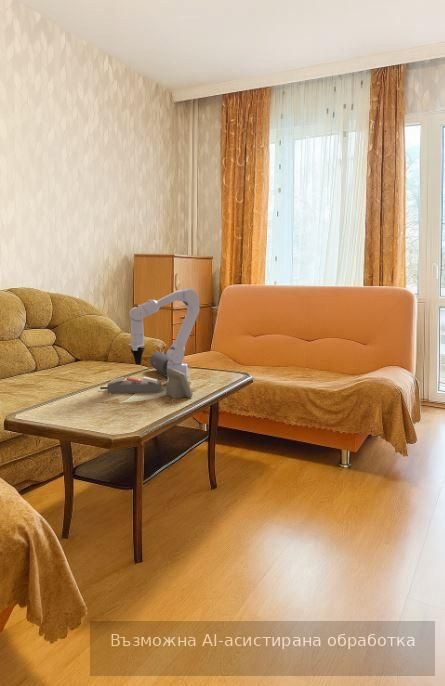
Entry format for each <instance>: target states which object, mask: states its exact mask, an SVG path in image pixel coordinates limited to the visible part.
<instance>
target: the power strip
mask: <svg viewBox="0 0 445 686" xmlns="http://www.w3.org/2000/svg"><path fill="white" fill-rule="evenodd" d="M157 380H158V379H157ZM99 388H100V390H107V393H108V394H115V393H116V394H124V393H125V394H128V393H129V394H130V393H131V394H134V393H137V394H139V393H140V394H141V393H144V394H145V393H146V394H151V393H153V394H154V393H160V392H161V390H162V380H158V381H157V383H154V382H149V381H145V380H143V379H142V380H141V383H138V382H133V381H128V380H122V381H118V382H115V383H110V382H109V383H108V384H107V385H106V386H100V387H99Z"/></svg>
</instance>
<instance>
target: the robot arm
mask: <svg viewBox="0 0 445 686" xmlns="http://www.w3.org/2000/svg"><path fill="white" fill-rule="evenodd" d="M199 299H200V296H199V295H198V292H197V291H196V290H195V289H193V288H186V287H185V288H182V289H178V290H176V291H173V292H171V293H169V294H167V295H165V296H164V297H161V298H160V299H158V300H155V299H148V300H147V302H144V303H142V304H138V305H137V307H136V306H135V307H131V308H130V310H129V313H128V317H129V318H130V343H128V347H131V348H130V352H131V353H132V356H133V359H134V362H135V365H141V364H142V359H143V354H144V351H145V349H146V348H145V347H144V346H145V336H144V334H145V333H144V332H145V331H144V330H145V329H144V318H146V317H148V316H151V315H153V314H155V313H157V312H159V310H160V308H161V307H163V306H165V305H166V306H167V305H168V304H171V303H174V302H175V301H177V302H182V303H183V304H184V305H185V307H186V309H187V311H186V314H185V316H184V318H183V321H182V324H181V326H180V328H179V330H178V333H177V335H176V337H175V340H174V342H172V344H171V346H170V347H169V348H168V349H167V351H166V353H165V354H166V357H167V359H168V362H167V369H168V368H172V369H175V370H177V371H180V372H182V373H184V374H185V375H186V378H187V380H188V381H189V373H188V371H189V370H188V364H187V363H184V362H183V361H184V359H185V352H186V345H187V341H188V339H189V337H190V335H191V333H192V330H193V327H194V325H195V323H196V320H197V318H198V316H199V313H200V310H201V308H200V301H199ZM168 382H169V377H168V376H167V380H166V382H165V385H166V384H167V383H168Z"/></svg>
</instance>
